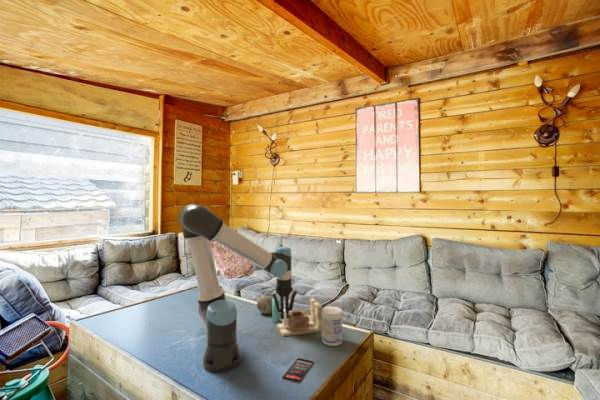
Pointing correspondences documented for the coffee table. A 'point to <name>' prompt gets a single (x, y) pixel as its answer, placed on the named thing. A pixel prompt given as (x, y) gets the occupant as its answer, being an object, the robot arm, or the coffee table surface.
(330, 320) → the supplement tub
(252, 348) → the coffee table surface
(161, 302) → the coffee table surface
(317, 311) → the jig
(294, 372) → the smartphone
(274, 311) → the dowel
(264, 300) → the decorative stone
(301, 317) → the block
